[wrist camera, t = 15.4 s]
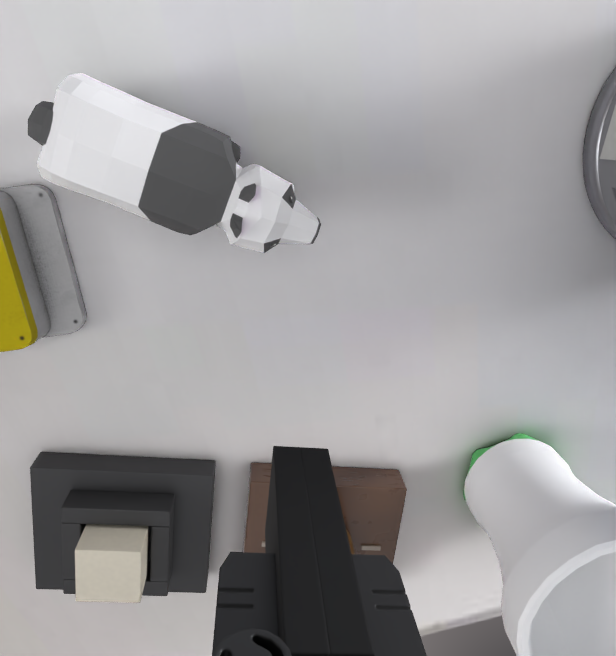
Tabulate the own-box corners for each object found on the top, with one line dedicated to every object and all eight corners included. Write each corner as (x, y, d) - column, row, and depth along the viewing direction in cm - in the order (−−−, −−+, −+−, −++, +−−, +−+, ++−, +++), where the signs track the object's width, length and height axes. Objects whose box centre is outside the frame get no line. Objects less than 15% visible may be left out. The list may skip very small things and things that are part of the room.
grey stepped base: (215, 460, 41) (211, 493, 37) (208, 573, 44) (203, 614, 40) (40, 451, 39) (17, 484, 35) (45, 569, 42) (24, 611, 38)
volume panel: (398, 469, 42) (407, 490, 40) (379, 578, 45) (386, 604, 43) (250, 461, 41) (250, 483, 38) (240, 574, 44) (239, 600, 41)
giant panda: (60, 168, 33) (-12, 179, 24) (86, 73, 32) (20, 48, 23) (290, 257, 36) (301, 297, 27) (323, 174, 35) (347, 187, 26)
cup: (596, 414, 42) (756, 544, 29) (557, 539, 45) (683, 706, 32) (452, 402, 41) (548, 532, 27) (422, 531, 44) (494, 704, 31)
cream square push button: (148, 525, 38) (141, 552, 35) (147, 574, 39) (140, 603, 36) (86, 523, 37) (74, 550, 35) (87, 572, 38) (75, 601, 36)
